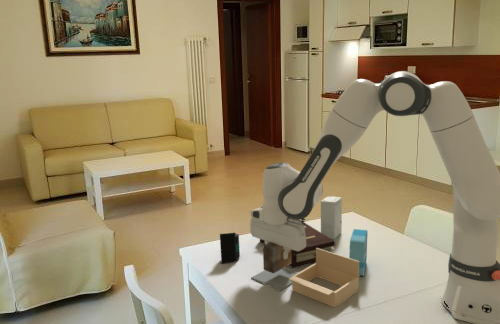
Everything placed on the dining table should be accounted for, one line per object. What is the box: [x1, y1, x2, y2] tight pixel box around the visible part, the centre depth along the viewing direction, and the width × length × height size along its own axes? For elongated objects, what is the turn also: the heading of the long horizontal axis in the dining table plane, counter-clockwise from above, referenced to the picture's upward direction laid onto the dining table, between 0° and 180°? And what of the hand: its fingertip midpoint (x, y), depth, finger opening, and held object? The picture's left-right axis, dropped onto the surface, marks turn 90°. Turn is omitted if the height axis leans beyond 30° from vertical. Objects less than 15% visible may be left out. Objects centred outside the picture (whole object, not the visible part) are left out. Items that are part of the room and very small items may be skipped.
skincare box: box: [320, 195, 343, 240], centre depth 179 cm, size 8×6×15 cm
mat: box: [250, 267, 298, 292], centre depth 147 cm, size 12×12×1 cm
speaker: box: [219, 232, 241, 265], centre depth 161 cm, size 8×6×10 cm
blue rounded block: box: [348, 228, 368, 277], centre depth 151 cm, size 12×4×12 cm, turn 162°
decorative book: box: [259, 218, 336, 269], centre depth 168 cm, size 19×8×30 cm
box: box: [262, 242, 292, 273], centre depth 146 cm, size 4×9×8 cm, turn 137°
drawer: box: [289, 248, 360, 308], centre depth 137 cm, size 15×15×10 cm
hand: (277, 256), depth 146 cm, fingers closed on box, 4 cm apart
